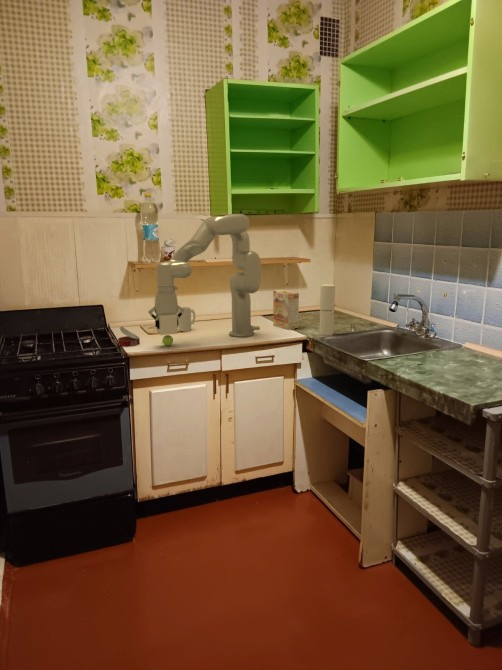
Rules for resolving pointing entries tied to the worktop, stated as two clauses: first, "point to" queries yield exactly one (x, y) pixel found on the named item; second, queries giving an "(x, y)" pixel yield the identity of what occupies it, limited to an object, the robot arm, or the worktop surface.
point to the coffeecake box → (285, 309)
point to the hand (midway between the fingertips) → (167, 327)
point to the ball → (167, 340)
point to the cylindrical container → (327, 309)
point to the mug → (186, 319)
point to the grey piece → (167, 324)
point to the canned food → (128, 338)
